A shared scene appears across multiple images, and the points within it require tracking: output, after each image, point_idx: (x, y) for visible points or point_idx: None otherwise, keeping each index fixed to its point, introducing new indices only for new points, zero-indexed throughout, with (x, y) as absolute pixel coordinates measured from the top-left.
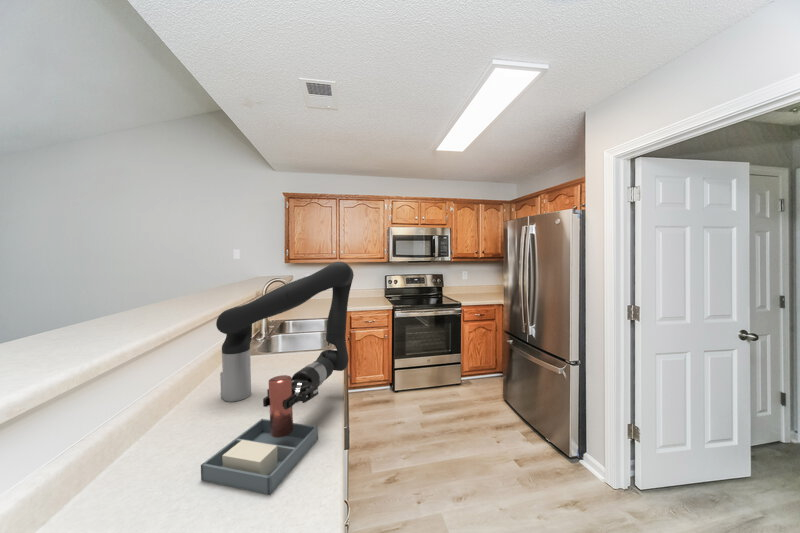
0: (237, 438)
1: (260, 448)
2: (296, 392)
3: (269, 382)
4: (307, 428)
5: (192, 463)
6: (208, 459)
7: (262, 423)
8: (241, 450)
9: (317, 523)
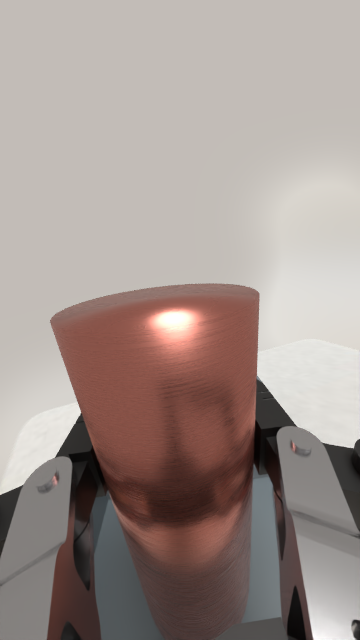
0: None
1: None
2: (50, 499)
3: (199, 284)
4: None
5: (346, 422)
6: (259, 379)
7: None
8: None
9: (52, 411)
